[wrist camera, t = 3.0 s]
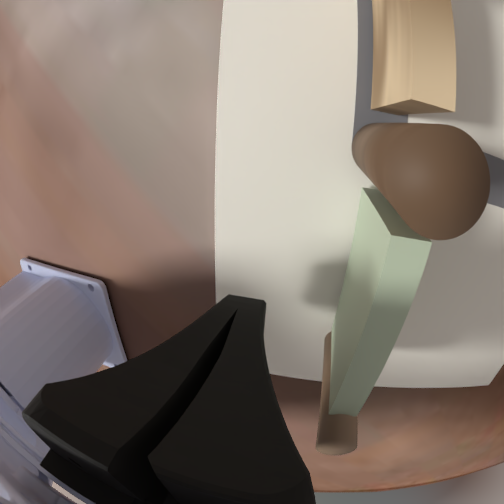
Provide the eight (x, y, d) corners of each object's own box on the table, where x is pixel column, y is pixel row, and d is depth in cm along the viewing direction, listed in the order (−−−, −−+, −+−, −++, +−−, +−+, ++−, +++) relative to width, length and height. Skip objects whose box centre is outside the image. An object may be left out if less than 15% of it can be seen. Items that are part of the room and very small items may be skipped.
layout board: (220, 358, 16) (218, 363, 15) (236, -87, 5) (234, -91, 5) (486, 380, 13) (488, 385, 12) (562, 14, 2) (566, 13, 2)
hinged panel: (356, 186, 9) (392, 254, 5) (393, 192, 9) (457, 264, 4) (321, 349, 13) (311, 453, 8) (349, 352, 13) (349, 456, 8)
